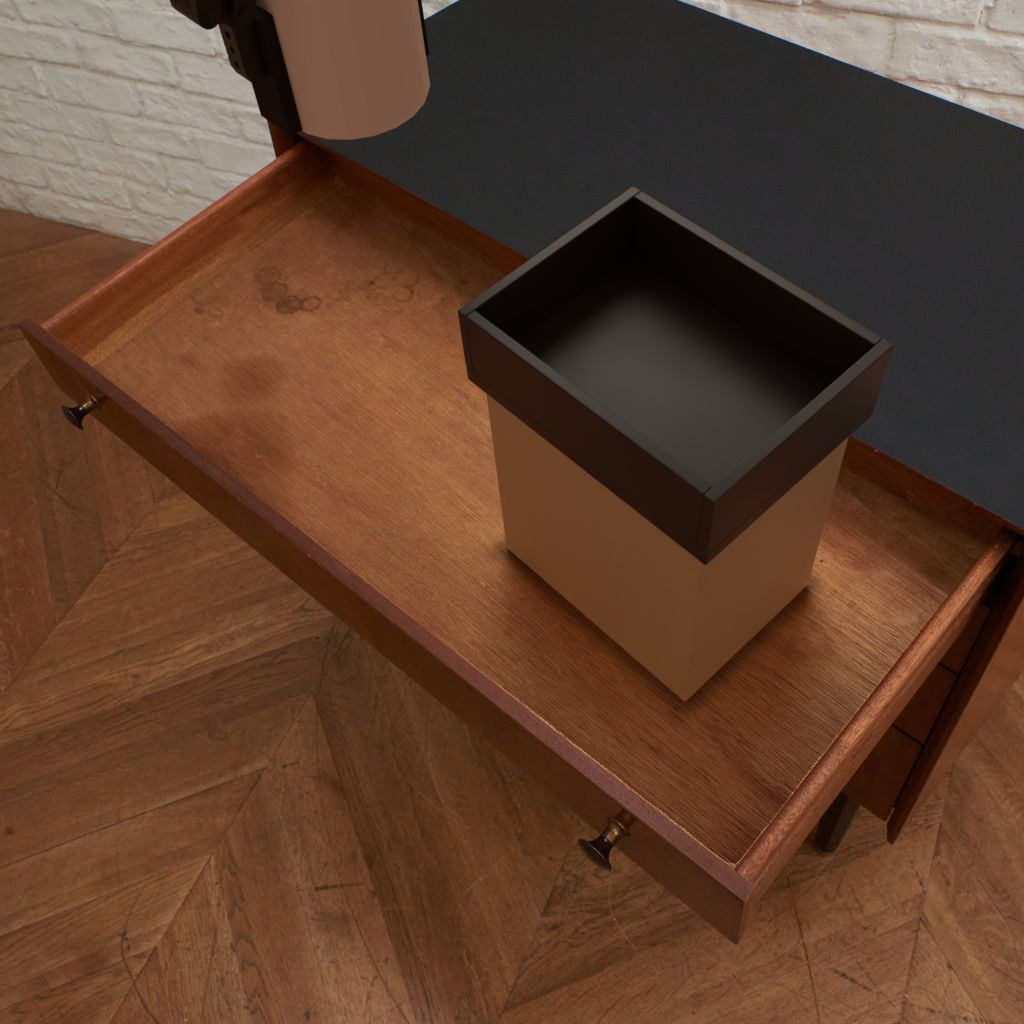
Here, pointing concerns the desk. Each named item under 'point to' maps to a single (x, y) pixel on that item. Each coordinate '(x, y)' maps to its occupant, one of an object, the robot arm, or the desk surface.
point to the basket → (673, 368)
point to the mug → (352, 63)
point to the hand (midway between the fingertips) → (346, 84)
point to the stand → (654, 558)
